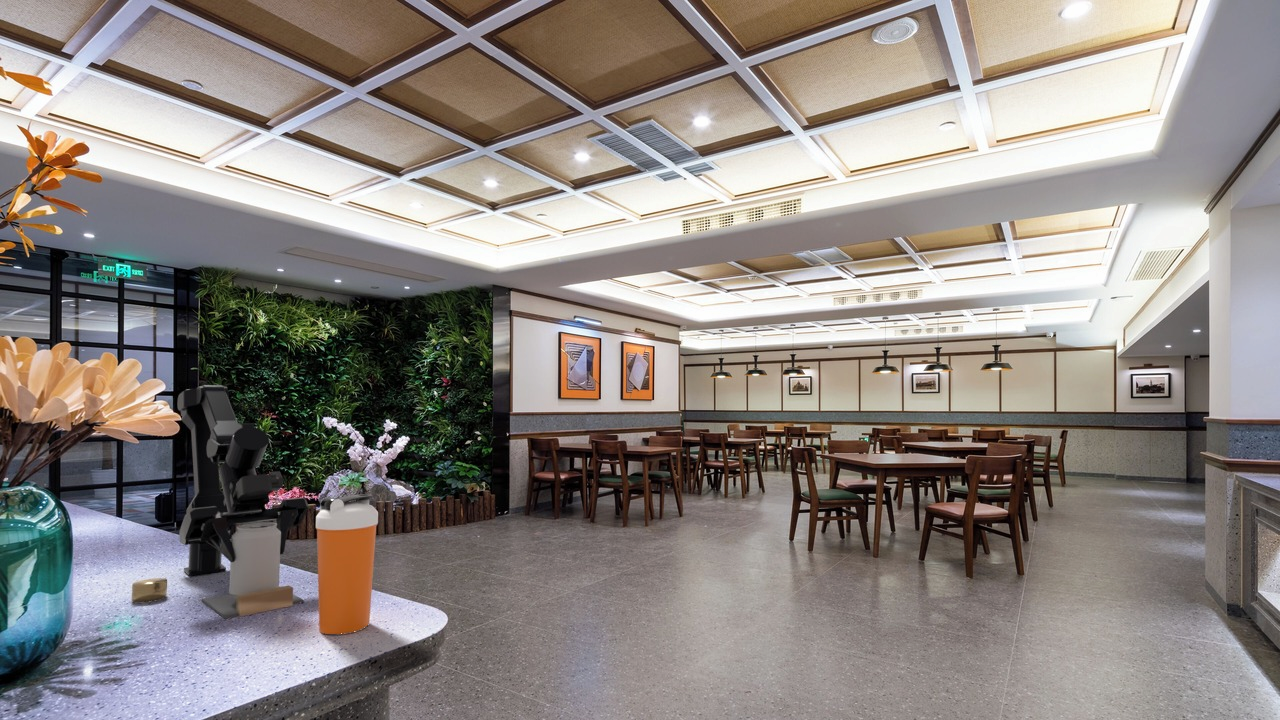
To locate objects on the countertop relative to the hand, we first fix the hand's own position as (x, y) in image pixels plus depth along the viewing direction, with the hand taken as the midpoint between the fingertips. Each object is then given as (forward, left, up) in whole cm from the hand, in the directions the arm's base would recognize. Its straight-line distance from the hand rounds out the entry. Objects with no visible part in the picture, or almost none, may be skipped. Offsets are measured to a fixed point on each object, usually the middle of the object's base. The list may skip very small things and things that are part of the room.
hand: (258, 556), depth 114 cm
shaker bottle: (+23, +7, -8) cm, 25 cm away
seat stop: (+4, 0, -8) cm, 9 cm away
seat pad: (-1, 0, -8) cm, 8 cm away
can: (-1, 0, -7) cm, 7 cm away
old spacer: (-17, -13, -8) cm, 23 cm away
